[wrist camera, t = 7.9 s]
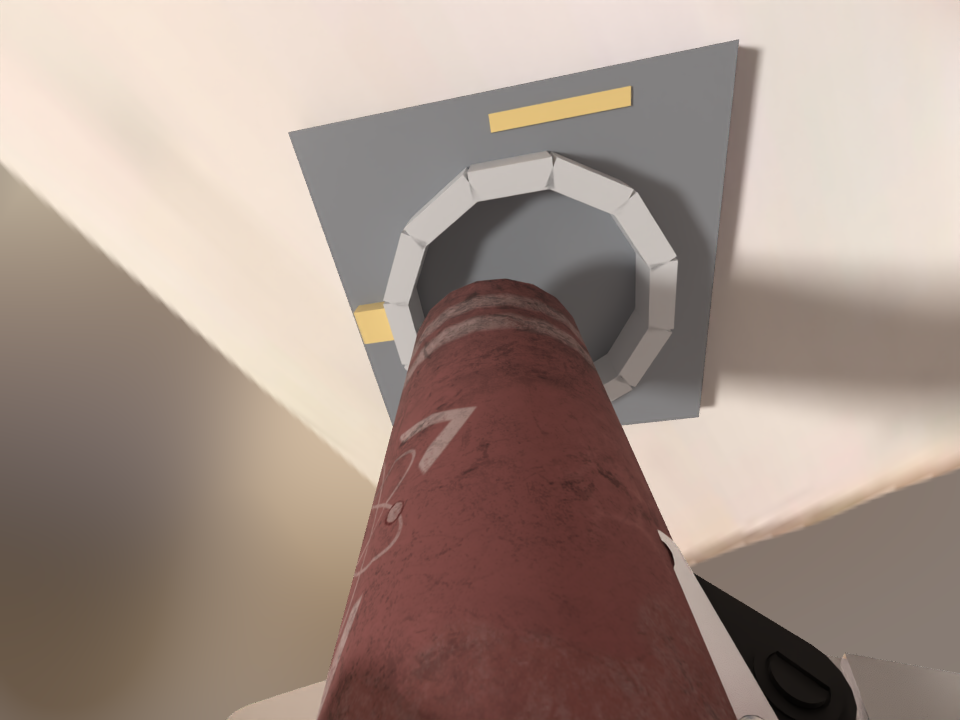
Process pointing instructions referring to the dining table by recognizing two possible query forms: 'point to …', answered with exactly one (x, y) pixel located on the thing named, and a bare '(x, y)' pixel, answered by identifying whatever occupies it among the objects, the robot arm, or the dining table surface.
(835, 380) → the dining table surface
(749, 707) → the robot arm
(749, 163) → the dining table surface
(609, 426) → the can
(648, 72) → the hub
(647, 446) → the dining table surface
